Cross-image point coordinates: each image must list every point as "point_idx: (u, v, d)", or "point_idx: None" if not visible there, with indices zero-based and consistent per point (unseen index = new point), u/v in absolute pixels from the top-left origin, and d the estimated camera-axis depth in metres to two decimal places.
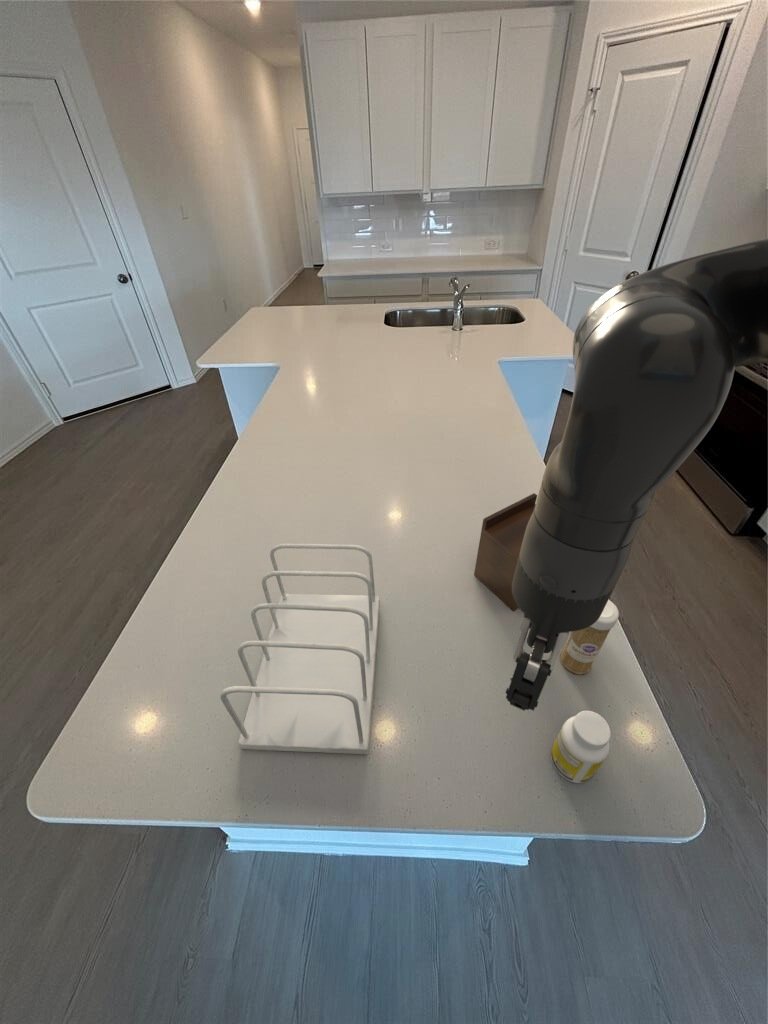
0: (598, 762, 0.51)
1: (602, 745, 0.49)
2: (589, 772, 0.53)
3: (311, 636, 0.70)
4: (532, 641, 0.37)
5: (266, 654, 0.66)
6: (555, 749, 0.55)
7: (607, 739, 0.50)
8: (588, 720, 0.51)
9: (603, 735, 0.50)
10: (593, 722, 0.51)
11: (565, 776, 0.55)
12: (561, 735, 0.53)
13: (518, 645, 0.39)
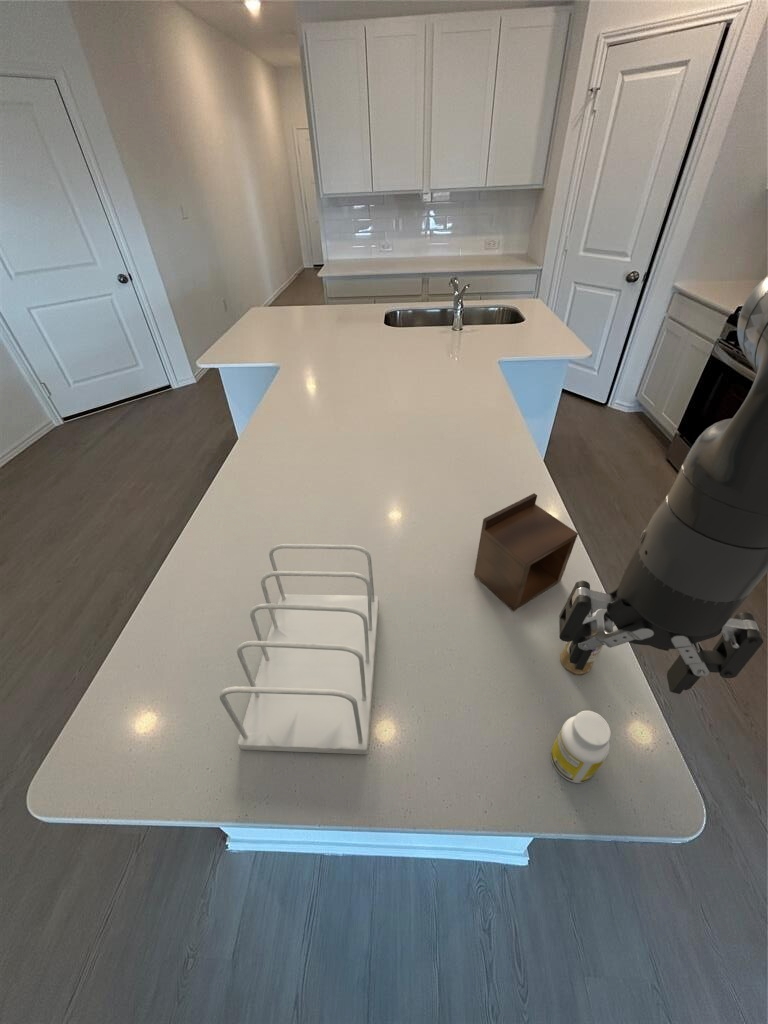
0: (598, 762, 0.51)
1: (602, 745, 0.49)
2: (589, 772, 0.53)
3: (310, 636, 0.70)
4: (608, 594, 0.38)
5: (265, 654, 0.66)
6: (555, 749, 0.55)
7: (607, 739, 0.50)
8: (588, 720, 0.51)
9: (603, 735, 0.50)
10: (593, 722, 0.51)
11: (565, 776, 0.55)
12: (561, 735, 0.53)
13: None
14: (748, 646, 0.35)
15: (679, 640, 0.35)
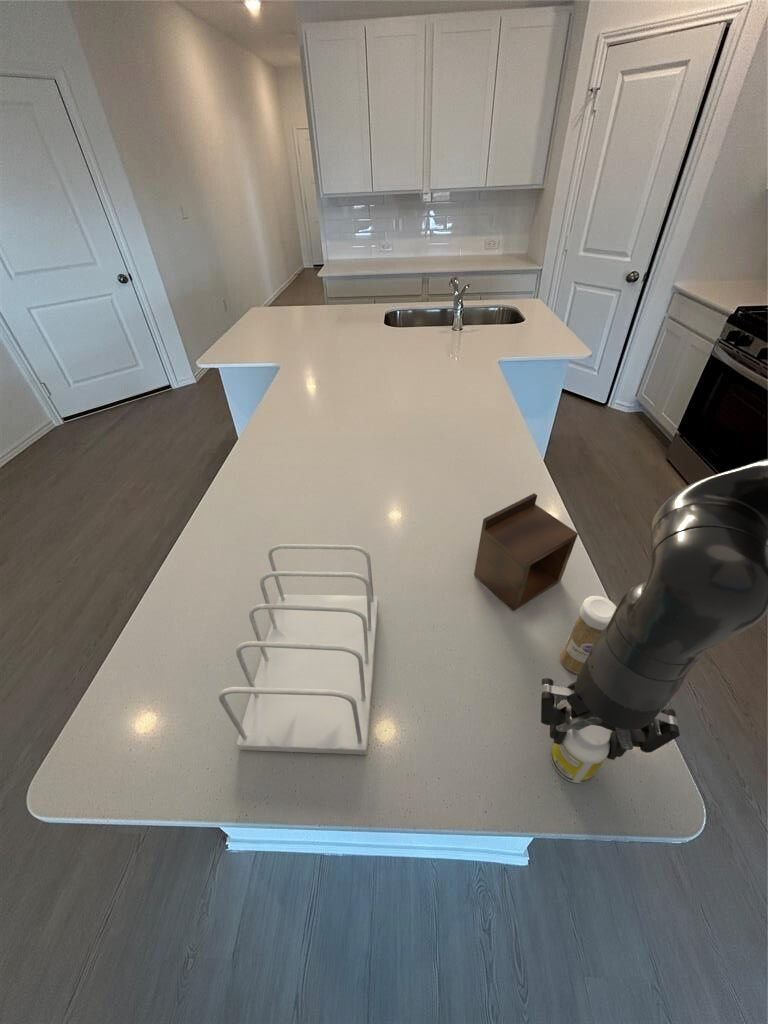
0: (598, 762, 0.51)
1: (602, 745, 0.49)
2: (589, 772, 0.53)
3: (309, 636, 0.70)
4: (568, 686, 0.48)
5: (264, 655, 0.66)
6: (555, 749, 0.55)
7: (607, 739, 0.50)
8: None
9: (603, 735, 0.50)
10: None
11: (565, 776, 0.55)
12: None
13: None
14: (668, 736, 0.45)
15: None
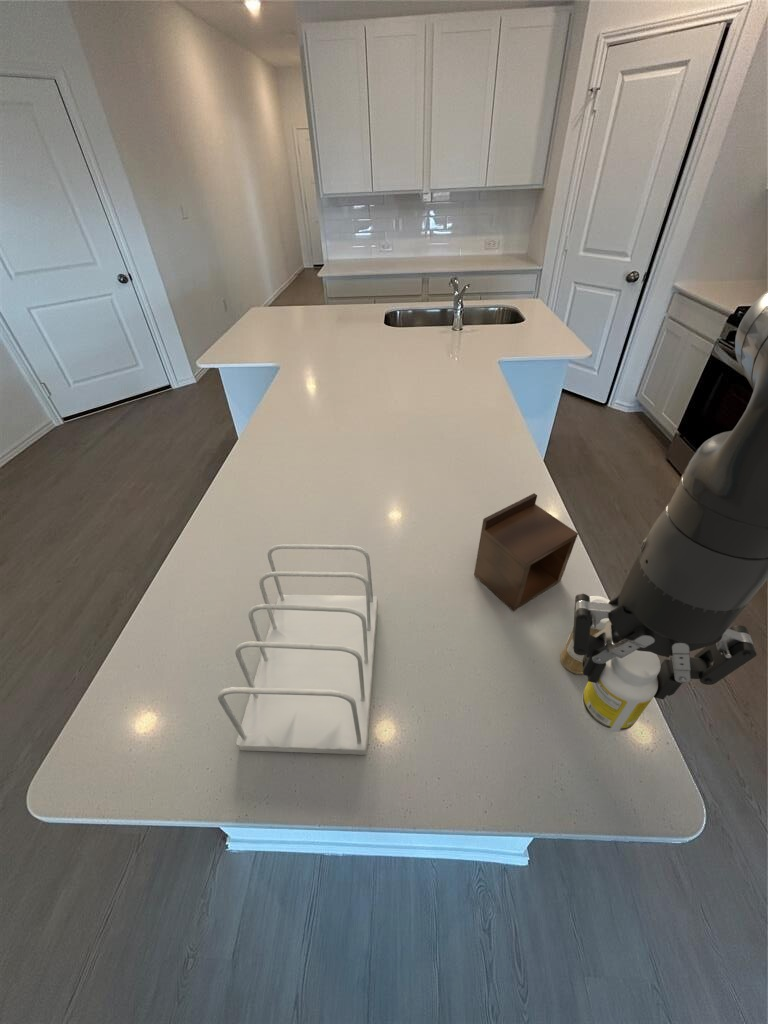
0: (645, 701, 0.41)
1: (651, 678, 0.40)
2: (632, 716, 0.43)
3: (309, 637, 0.70)
4: (610, 601, 0.38)
5: (264, 655, 0.66)
6: (588, 691, 0.46)
7: (657, 671, 0.40)
8: None
9: (652, 666, 0.40)
10: (638, 652, 0.42)
11: (601, 723, 0.45)
12: None
13: None
14: (740, 658, 0.36)
15: (680, 647, 0.36)
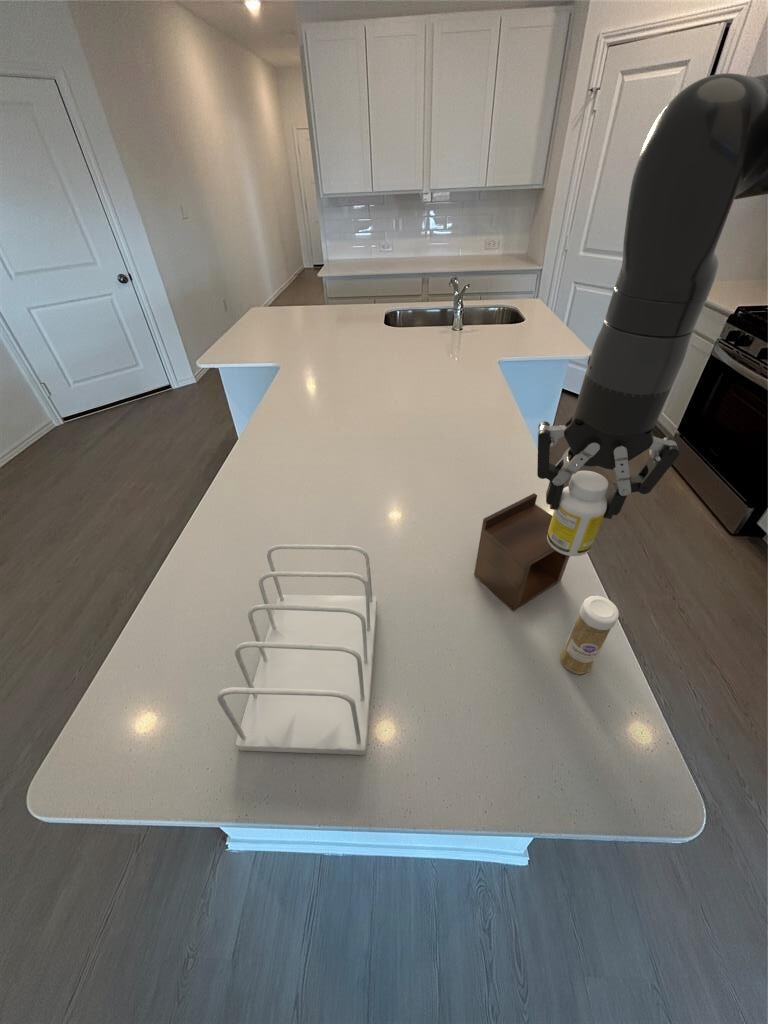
0: (596, 516, 0.50)
1: (600, 492, 0.48)
2: (586, 535, 0.51)
3: (308, 637, 0.70)
4: None
5: (263, 655, 0.66)
6: (551, 523, 0.54)
7: (605, 487, 0.49)
8: (585, 476, 0.50)
9: (601, 485, 0.49)
10: (590, 477, 0.50)
11: (562, 549, 0.54)
12: None
13: None
14: (667, 459, 0.44)
15: (619, 451, 0.44)
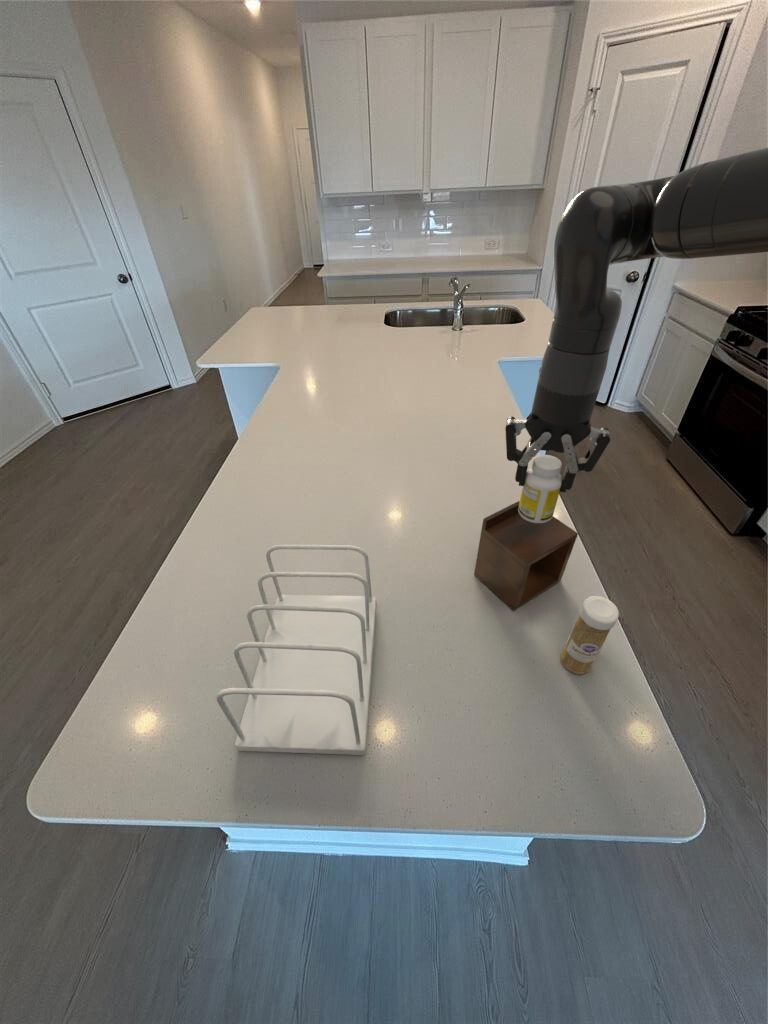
0: (552, 490, 0.64)
1: (554, 470, 0.63)
2: (546, 505, 0.66)
3: (308, 637, 0.70)
4: None
5: (263, 655, 0.66)
6: (521, 497, 0.69)
7: (558, 467, 0.63)
8: (544, 459, 0.65)
9: (555, 465, 0.63)
10: (548, 459, 0.64)
11: (528, 517, 0.68)
12: None
13: None
14: (602, 444, 0.59)
15: (565, 438, 0.59)
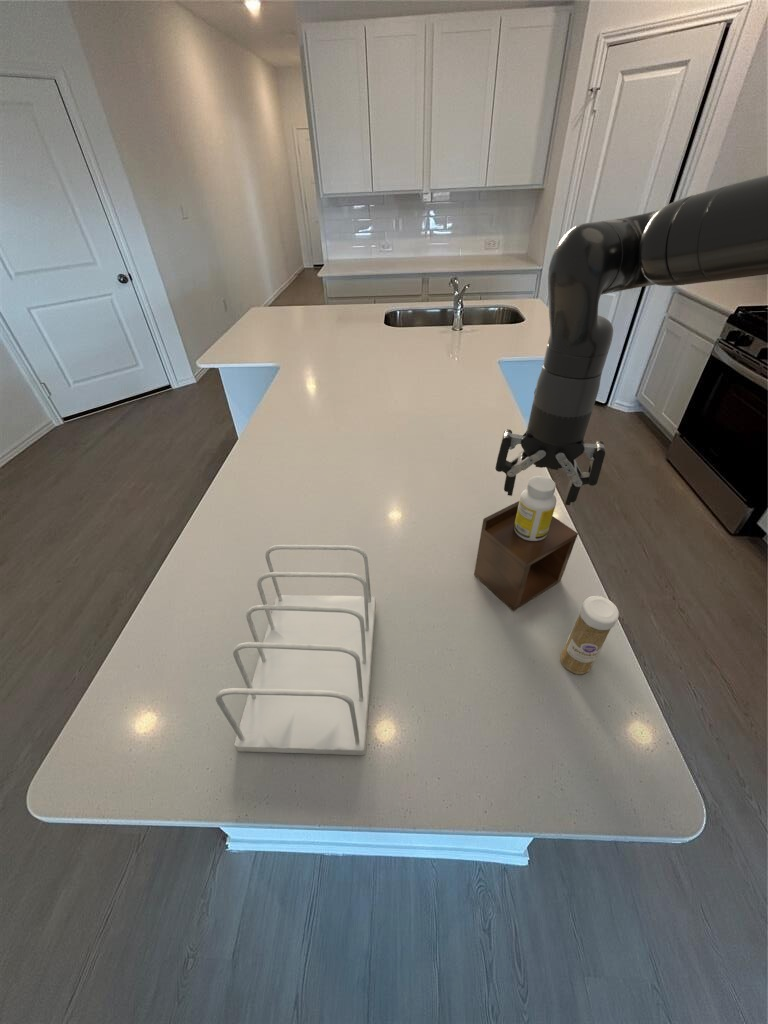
0: (546, 510, 0.66)
1: (548, 492, 0.65)
2: (541, 524, 0.68)
3: (307, 637, 0.70)
4: None
5: (262, 656, 0.66)
6: (516, 516, 0.71)
7: (552, 488, 0.65)
8: (539, 480, 0.67)
9: (550, 486, 0.66)
10: (543, 481, 0.67)
11: (524, 535, 0.71)
12: (520, 498, 0.69)
13: None
14: (598, 457, 0.60)
15: (560, 456, 0.61)
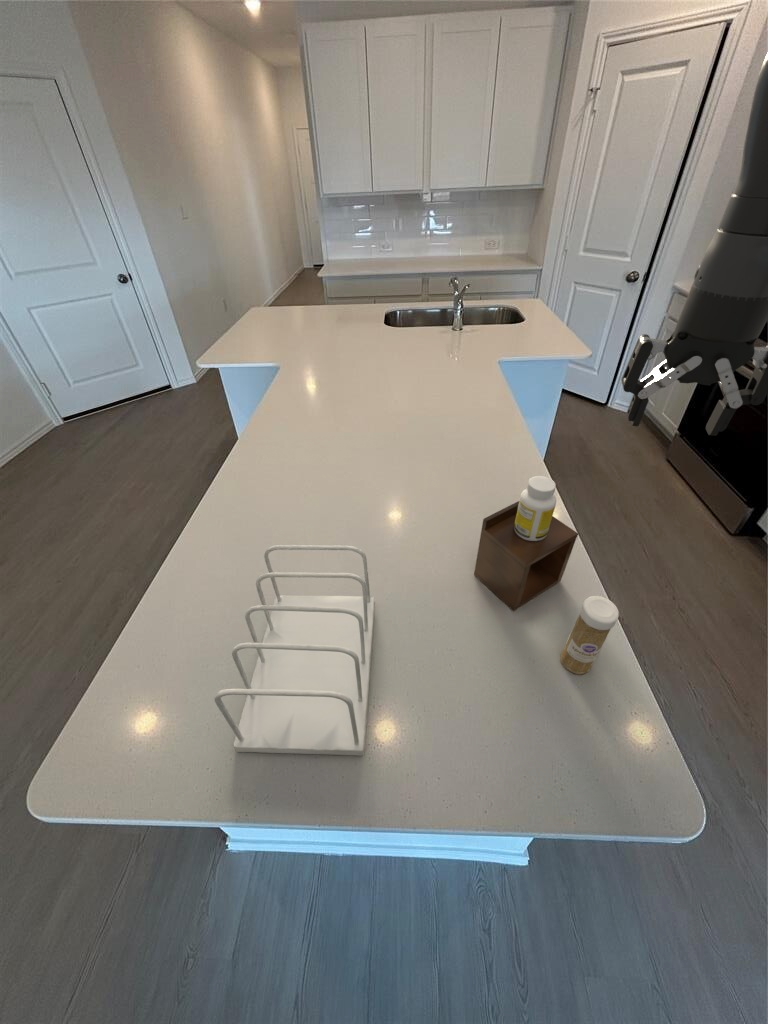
0: (546, 510, 0.66)
1: (548, 492, 0.65)
2: (541, 524, 0.68)
3: (306, 637, 0.70)
4: None
5: (261, 656, 0.66)
6: (516, 516, 0.71)
7: (552, 488, 0.65)
8: (539, 480, 0.67)
9: (550, 486, 0.66)
10: (543, 481, 0.67)
11: (524, 535, 0.71)
12: (520, 499, 0.69)
13: None
14: None
15: (721, 363, 0.47)
